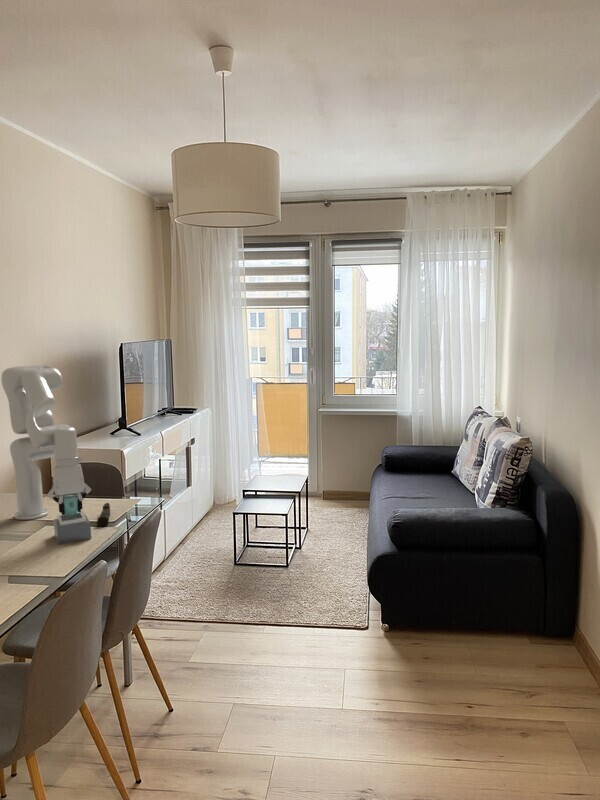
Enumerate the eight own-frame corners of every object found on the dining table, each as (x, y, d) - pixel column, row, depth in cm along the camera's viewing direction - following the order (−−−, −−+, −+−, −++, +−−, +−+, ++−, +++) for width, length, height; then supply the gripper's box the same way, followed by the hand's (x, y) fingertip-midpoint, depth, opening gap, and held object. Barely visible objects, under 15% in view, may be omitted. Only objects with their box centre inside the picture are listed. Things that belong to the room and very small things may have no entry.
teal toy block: (62, 512, 230) (61, 496, 229) (77, 510, 232) (76, 494, 231) (65, 517, 224) (64, 500, 223) (80, 515, 226) (79, 498, 225)
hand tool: (108, 526, 242) (107, 514, 241) (97, 527, 241) (96, 515, 240) (115, 512, 260) (114, 501, 260) (105, 513, 260) (104, 502, 259)
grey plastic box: (54, 535, 232) (53, 515, 231) (86, 530, 237) (85, 510, 236) (58, 544, 222) (56, 523, 222) (91, 538, 227) (89, 518, 226)
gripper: (90, 457, 234) (94, 506, 236) (40, 463, 226) (44, 514, 228) (94, 461, 227) (97, 511, 229) (42, 467, 219) (46, 519, 222)
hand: (71, 512), depth 229 cm, fingers closed on teal toy block, 5 cm apart
